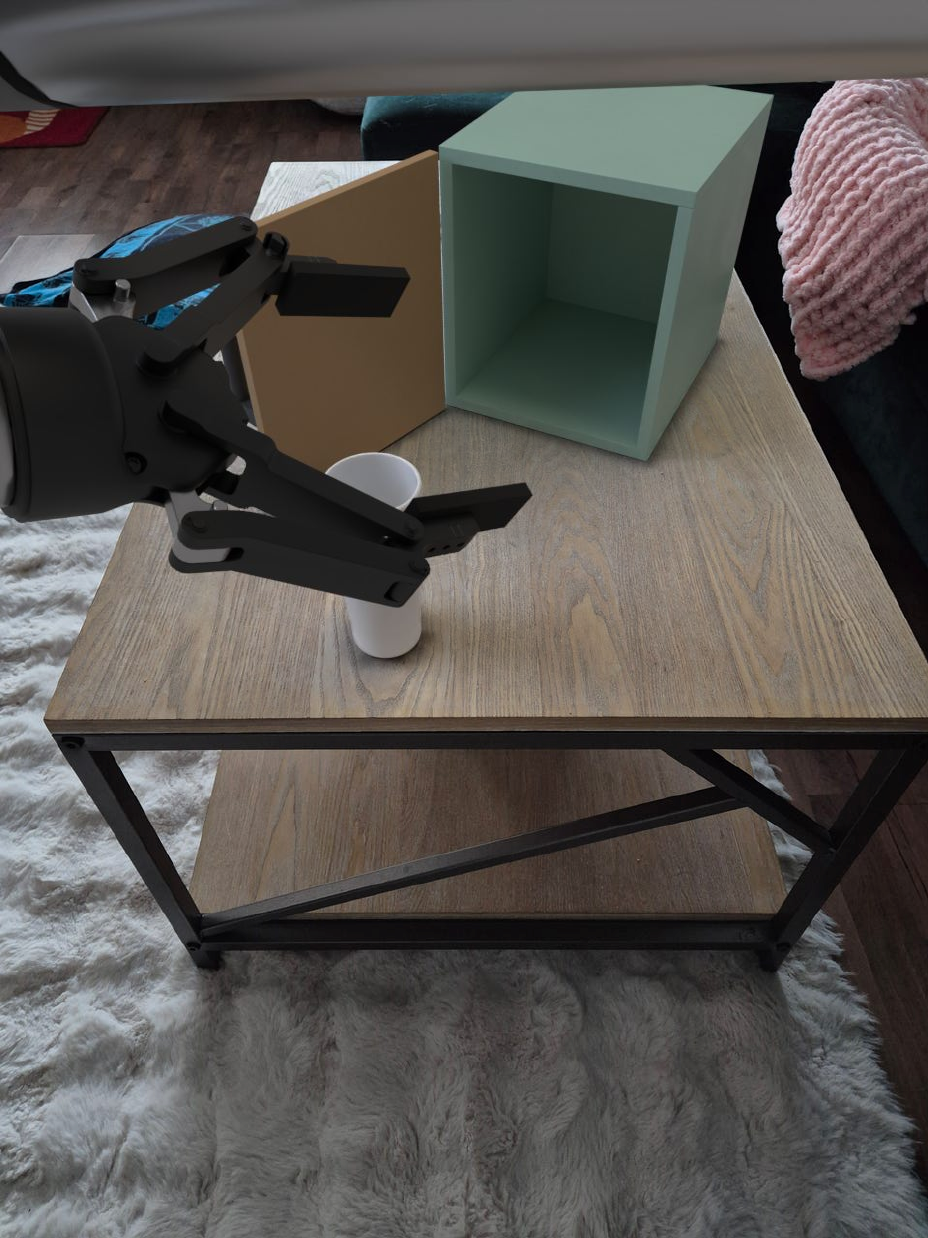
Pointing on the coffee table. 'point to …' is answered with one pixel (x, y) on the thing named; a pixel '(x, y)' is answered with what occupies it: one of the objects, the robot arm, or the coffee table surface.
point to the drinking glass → (396, 486)
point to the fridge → (593, 254)
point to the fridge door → (351, 324)
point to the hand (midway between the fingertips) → (454, 394)
